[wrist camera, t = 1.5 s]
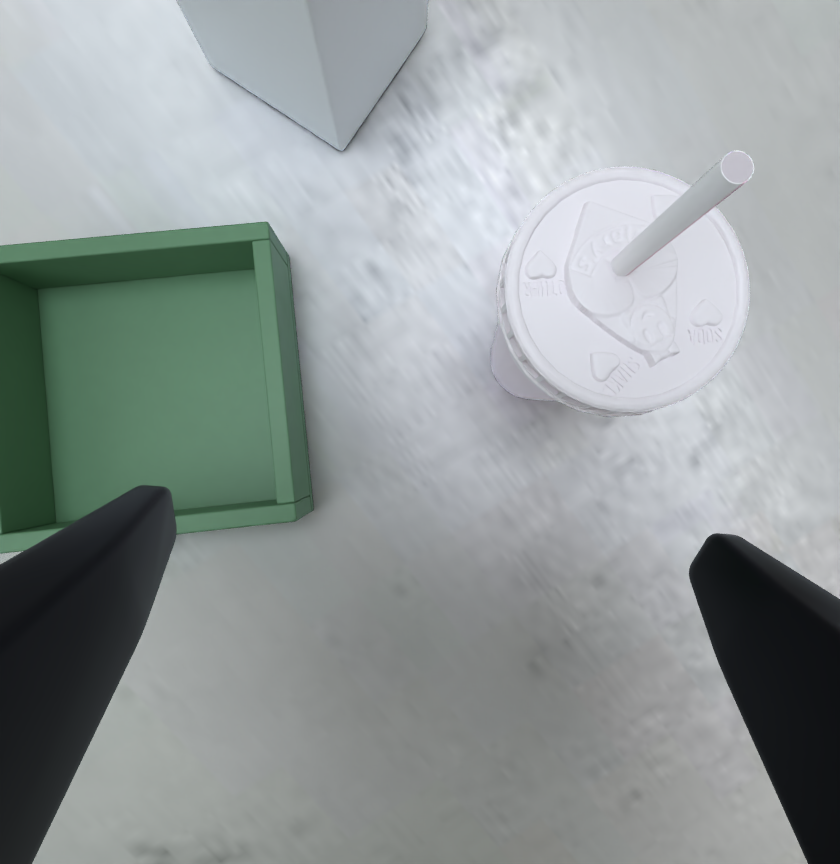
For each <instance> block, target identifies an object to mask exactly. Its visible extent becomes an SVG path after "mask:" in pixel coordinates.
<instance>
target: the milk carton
mask: <svg viewBox="0 0 840 864" xmlns="http://www.w3.org/2000/svg"><path fill="white" fill-rule="evenodd" d="M176 1H177V2H178V4H179V6H180V8H181V10H182V12H183V14H184V16H185V18H186V20H187V22H188V24H189V26H190V28H191V30H192V32H193V34H194V36H195V38H196V39H197V41H198V43H199V45H200V47H201V49H202V51H203V53H204V55H205V57H206V59H207V61H208V63H209V64H210V65H211V66H212V67H213V68H215V69H216V70H218V71H219V72H221V73H222V74H224V75H225V76H227V77H228V78H230V79H231V80H233V81H234V82H236V83H237V84H239V85H240V86H242V87H244V88H245V89H247V90H248V91H250V92H251V93H253V94H254V95H256V96H257V97H259V98H260V99H262V100H263V101H265V102H266V103H268V104H269V105H271V106H272V107H274V108H276V109H277V110H279V111H280V112H282V113H283V114H285V115H286V116H288V117H289V118H291V119H292V120H294V121H295V122H297V123H298V124H300V125H301V126H303V127H305V128H306V129H308V130H309V131H311V132H312V133H314V134H315V135H317V136H318V137H320V138H321V139H323V140H324V141H326V142H327V143H329V144H330V145H332V146H334V147H335V148H337V149H338V150H340V151H342V150H344V149H345V147H346V146H347V145H348V143H349V142H350V141H351V139H352V138H353V136H354V135H355V133H356V132H357V130H358V129H359V127H360V126H361V125H362V123H363V122H364V120H365V119H366V117H367V116H368V114H369V113H370V111H371V110H372V108H373V107H374V106H375V104H376V103H377V101H378V100H379V98H380V97H381V95H382V94H383V92H384V91H385V89H386V88H387V87H388V85H389V84H390V82H391V81H392V79H393V78H394V76H395V75H396V73H397V72H398V70H399V69H400V67H401V66H402V65H403V63H404V62H405V60H406V59H407V57H408V56H409V54H410V53H411V51H412V50H413V48H414V47H415V46H416V44H417V43H418V41H419V40H420V38H421V37H422V35H423V33H424V32H425V30H426V27H427V17H428V0H176Z"/></svg>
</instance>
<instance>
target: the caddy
mask: <svg viewBox="0 0 840 864" xmlns="http://www.w3.org/2000/svg"><path fill="white" fill-rule="evenodd" d="M140 485H151V486H163V487H166V488H168V489H169V490H170V492H171V495H172V500H173V507H174V513H175V519H176V526H177V532H176V534H185V533H194V532H203V531H212V530H221V529H230V528H240V527H249V526H258V525H267V524H276V523H286V522H295V521H297V520H299V519H300V518H302V517H303V516H305V515H306V514H308V513H309V512H311V511H313V510H314V508H313V497H312V487H311V477H310V467H309V456H308V446H307V436H306V426H305V415H304V405H303V395H302V384H301V374H300V364H299V354H298V343H297V333H296V323H295V313H294V302H293V292H292V282H291V271H290V261H289V255H288V254H287V252H286V251H285V249H284V247H283V246H282V244H281V243H280V241H279V239H278V238H277V236H276V234H275V233H274V231H273V229H272V228H271V226H270V225H269V223H268V222H258V223H246V224H235V225H224V226H213V227H202V228H191V229H180V230H169V231H158V232H146V233H135V234H124V235H113V236H102V237H91V238H80V239H69V240H58V241H46V242H35V243H24V244H13V245H2V246H0V554H1V553H10V552H19V551H25V550H27V549H28V548H30V547H32V546H34V545H35V544H37V543H39V542H41V541H42V540H44V539H46V538H48V537H49V536H51V535H53V534H55V533H56V532H58V531H60V530H62V529H63V528H65V527H67V526H68V525H70V524H72V523H74V522H75V521H77V520H79V519H81V518H82V517H84V516H86V515H88V514H89V513H91V512H93V511H95V510H96V509H98V508H100V507H102V506H103V505H105V504H107V503H109V502H110V501H112V500H114V499H116V498H117V497H119V496H121V495H123V494H124V493H126V492H128V491H130V490H131V489H133V488H135V487H137V486H140Z"/></svg>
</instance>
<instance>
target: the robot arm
mask: <svg viewBox="0 0 840 864" xmlns="http://www.w3.org/2000/svg"><path fill="white" fill-rule="evenodd" d="M176 532H177V526H176V519H175V513H174V507H173V500H172V495H171V492H170V490H169V489H168V488H166V487H163V486H151V485H140V486H137V487H135V488H133V489H131V490H130V491H128V492H126V493H124V494H123V495H121V496H119V497H117V498H116V499H114V500H112V501H110V502H109V503H107V504H105V505H103V506H102V507H100V508H98V509H96V510H95V511H93V512H91V513H89V514H88V515H86V516H84V517H82V518H81V519H79V520H77V521H75V522H74V523H72V524H70V525H68V526H67V527H65V528H63V529H62V530H60V531H58V532H56V533H55V534H53V535H51V536H49V537H48V538H46V539H44V540H42V541H41V542H39V543H37V544H35V545H34V546H32V547H30V548H28V549H27V550H25V551H23V552H21V553H20V554H18V555H16V556H14V557H13V558H11V559H9V560H7V561H6V562H4V563H2V564H0V864H32V862H33V860H34V858H35V856H36V854H37V852H38V850H39V848H40V846H41V844H42V842H43V840H44V837H45V835H46V833H47V831H48V829H49V827H50V825H51V823H52V821H53V819H54V817H55V815H56V813H57V810H58V808H59V806H60V804H61V802H62V800H63V798H64V796H65V794H66V792H67V790H68V788H69V786H70V783H71V781H72V779H73V777H74V775H75V773H76V771H77V769H78V767H79V765H80V763H81V761H82V759H83V756H84V754H85V752H86V750H87V748H88V746H89V744H90V742H91V740H92V738H93V736H94V734H95V732H96V729H97V727H98V725H99V723H100V721H101V719H102V717H103V715H104V713H105V711H106V709H107V707H108V705H109V702H110V700H111V698H112V696H113V694H114V692H115V690H116V688H117V686H118V684H119V682H120V680H121V678H122V675H123V673H124V671H125V669H126V667H127V665H128V663H129V661H130V659H131V657H132V655H133V653H134V651H135V648H136V646H137V644H138V642H139V639H140V637H141V635H142V633H143V630H144V628H145V625H146V622H147V620H148V617H149V614H150V611H151V608H152V605H153V603H154V600H155V597H156V594H157V591H158V588H159V585H160V582H161V580H162V577H163V574H164V571H165V568H166V565H167V562H168V560H169V557H170V554H171V551H172V548H173V545H174V542H175V538H176ZM689 577H690V582H691V584H692V587H693V590H694V593H695V596H696V599H697V602H698V605H699V608H700V611H701V614H702V617H703V620H704V623H705V626H706V628H707V631H708V634H709V637H710V640H711V643H712V646H713V649H714V652H715V654H716V657H717V660H718V663H719V665H720V667H721V670H722V672H723V675H724V677H725V679H726V681H727V684H728V686H729V688H730V690H731V693H732V695H733V697H734V699H735V702H736V704H737V706H738V708H739V710H740V713H741V715H742V717H743V719H744V722H745V724H746V726H747V728H748V731H749V733H750V735H751V737H752V740H753V742H754V744H755V746H756V748H757V751H758V753H759V755H760V757H761V760H762V762H763V764H764V766H765V769H766V771H767V773H768V775H769V777H770V780H771V782H772V784H773V786H774V789H775V791H776V793H777V795H778V798H779V800H780V802H781V804H782V807H783V809H784V811H785V813H786V815H787V818H788V820H789V822H790V824H791V827H792V829H793V831H794V833H795V836H796V838H797V840H798V842H799V844H800V847H801V849H802V851H803V853H804V856H805V858H806V860H807V862H808V864H840V599H839V598H837V597H835V596H834V595H832V594H831V593H829V592H827V591H826V590H824V589H823V588H821V587H819V586H818V585H816V584H815V583H813V582H811V581H810V580H808V579H807V578H805V577H804V576H802V575H800V574H799V573H797V572H796V571H794V570H792V569H791V568H789V567H788V566H786V565H784V564H783V563H781V562H780V561H778V560H776V559H775V558H773V557H772V556H770V555H768V554H767V553H765V552H764V551H762V550H760V549H759V548H757V547H756V546H754V545H752V544H751V543H749V542H748V541H746V540H745V539H743V538H741V537H739V536H736V535H730V534H718V533H717V534H712V535H711V536H709V537H708V538H707V539H706V541H705V543H704V544H703V546H702V547H701V549H700V551H699V552H698V554H697V555H696V557H695V559H694V560H693V562H692V564H691V566H690V569H689Z"/></svg>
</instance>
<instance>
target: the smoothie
mask: <svg viewBox="0 0 840 864" xmlns="http://www.w3.org/2000/svg"><path fill="white" fill-rule="evenodd" d="M753 173H754V163H753V161H752V159H751V157H750V156H749V155H748V154H746V153H745V152H742V151H731V152H729V153H727V154H726V155H725V156H724V157H723V158H722V159H721V160H720V161H719V162H718V163H716V164H715V165H714V166H713V167H712V168H711V169H710V170H709V171H708V172H707V173H706V174H704V175H703V176H702V177H701V178H700V179H699V180H698V181H697V182H696V183H695V184H694V185H693V186H691V185H689V184H688V183H686V182H684V181H682V180H680V179H678V178H676V177H673V176H671V175H669V174H666V173H663V172H660V171H656V170H652V169H647V168H641V167H631V166H618V167H608V168H602V169H597V170H593V171H590V172H586V173H583V174H581V175H579V176H576V177H574V178H572V179H570V180H568V181H566V182H564V183H562V184H561V185H559V186H558V187H556V188H555V189H553V190H552V191H551V192H550V193H548V194H547V195H546V196H545V197H544V198H543V199H542V200H541V201H540V202H539V203H538V204H537V205H536V206H535V207H534V208H533V209H532V211H531V212H530V213H529V214H528V216H527V217H526V219H525V220H524V222H523V223H522V225H521V226H520V228H519V229H518V230H517V231H516V232H515V234H514V236H513V238H512V240H511V242H510V244H509V246H508V249H507V251H506V253H505V255H504V257H503V259H502V263H501V268H500V273H499V278H498V283H497V288H496V294H497V308H498V324H497V328H496V332H495V336H494V340H493V344H492V348H491V355H490V362H491V368H492V371H493V374H494V376H495V378H496V380H497V381H498V383H499V384H500V385H501V386H502V387H503V388H504V389H505V390H506V391H507V392H509V393H510V394H512V395H514V396H517V397H519V398H523V399H532V400H546V401H559V402H561V403H563V404H565V405H567V406H569V407H571V408H573V409H575V410H577V411H581V412H586V413H591V414H596V415H601V416H606V417H618V416H633V415H641V414H644V413H647V412H650V411H653V410H656V409H659V408H663V407H666V406H669V405H672V404H675V403H677V402H679V401H682V400H684V399H686V398H688V397H689V396H691V395H693V394H695V393H696V392H698V391H699V390H700V389H702V388H703V387H705V386H706V385H707V384H708V383H709V382H710V381H712V380H713V379H714V378H715V377H716V376H717V375H718V373H719V372H720V371H721V370H722V369H723V368H724V366H725V365H726V364H727V362H728V361H729V360H730V358H731V356H732V355H733V353H734V352H735V350H736V348H737V346H738V344H739V342H740V340H741V337H742V334H743V331H744V329H745V325H746V321H747V317H748V311H749V305H750V280H749V273H748V267H747V263H746V259H745V255H744V252H743V250H742V247H741V244H740V242H739V240H738V238H737V235H736V234H735V232H734V230H733V228H732V227H731V225H730V223H729V222H728V221H727V219H726V218H725V216H724V215H723V214H722V213H721V211H720V210H719V209H718V208H717V207H716V205H718V204H719V203H720V202H722V201H723V200H724V199H725V198H727V197H728V196H729V195H730V194H732V193H733V192H734V191H736V190H737V189H738V188H739V187H741V186H742V185H743V184H744V183H746V182H747V181H748V180H749V179H750V178H751V177H752V175H753Z"/></svg>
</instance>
